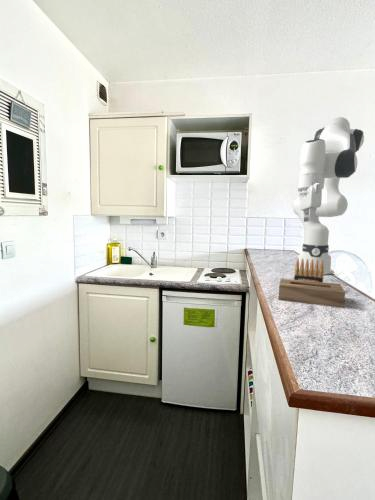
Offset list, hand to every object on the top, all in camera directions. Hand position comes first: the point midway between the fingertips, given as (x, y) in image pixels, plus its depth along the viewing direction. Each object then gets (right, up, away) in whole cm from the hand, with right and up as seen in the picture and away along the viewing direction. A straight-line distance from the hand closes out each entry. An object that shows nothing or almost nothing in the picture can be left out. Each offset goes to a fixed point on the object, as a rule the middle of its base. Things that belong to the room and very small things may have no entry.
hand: (308, 221), depth 104 cm
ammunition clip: (+2, -26, +6) cm, 27 cm away
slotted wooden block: (-3, -28, -7) cm, 29 cm away
